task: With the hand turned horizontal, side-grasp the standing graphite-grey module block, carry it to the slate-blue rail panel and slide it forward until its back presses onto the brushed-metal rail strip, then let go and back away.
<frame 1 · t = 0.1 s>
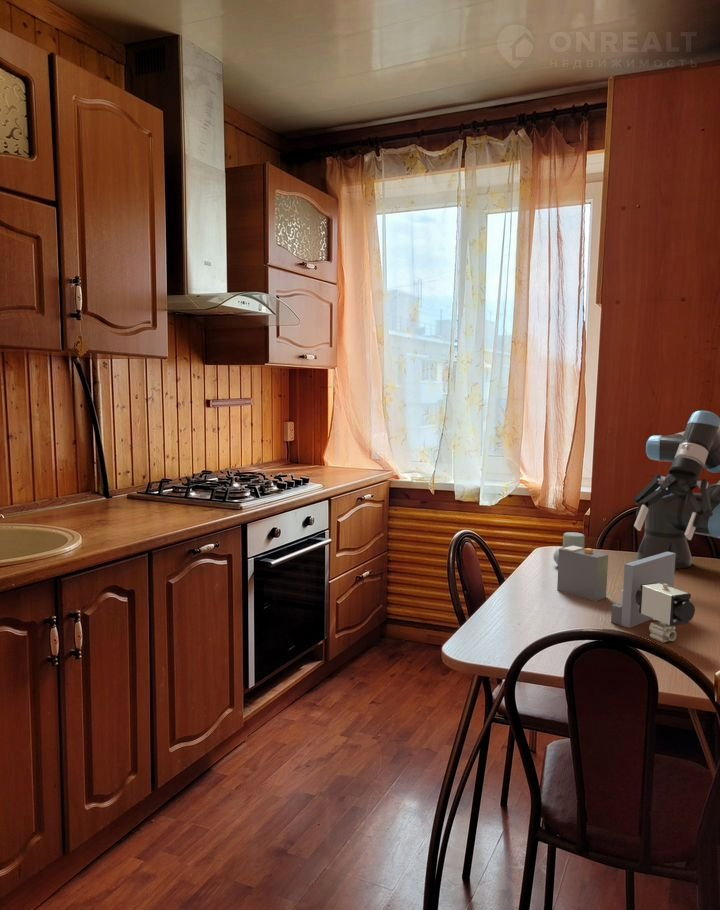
hand: (661, 532, 181), 15 cm above the table, tool tilted 35°, fingers open, 13 cm apart
air freshener: (572, 568, 204), on the table
pneumatic valve: (663, 640, 147), on the table
rail panel: (647, 617, 161), on the table
module: (581, 593, 179), on the table
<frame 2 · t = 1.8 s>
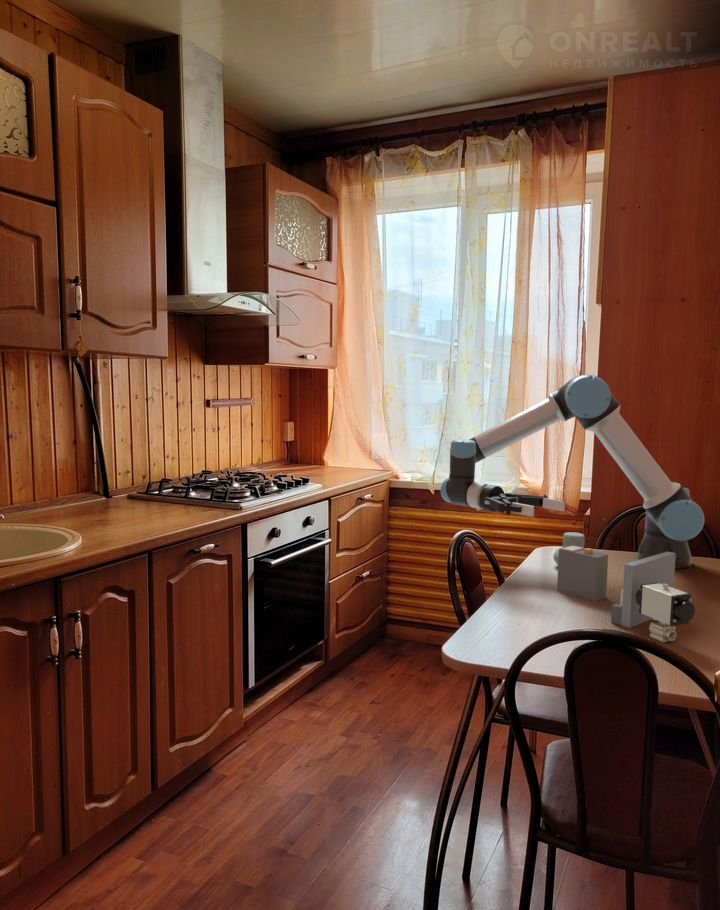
hand: (548, 508, 185), 20 cm above the table, tool horizontal, fingers open, 13 cm apart
nothing on the table moved.
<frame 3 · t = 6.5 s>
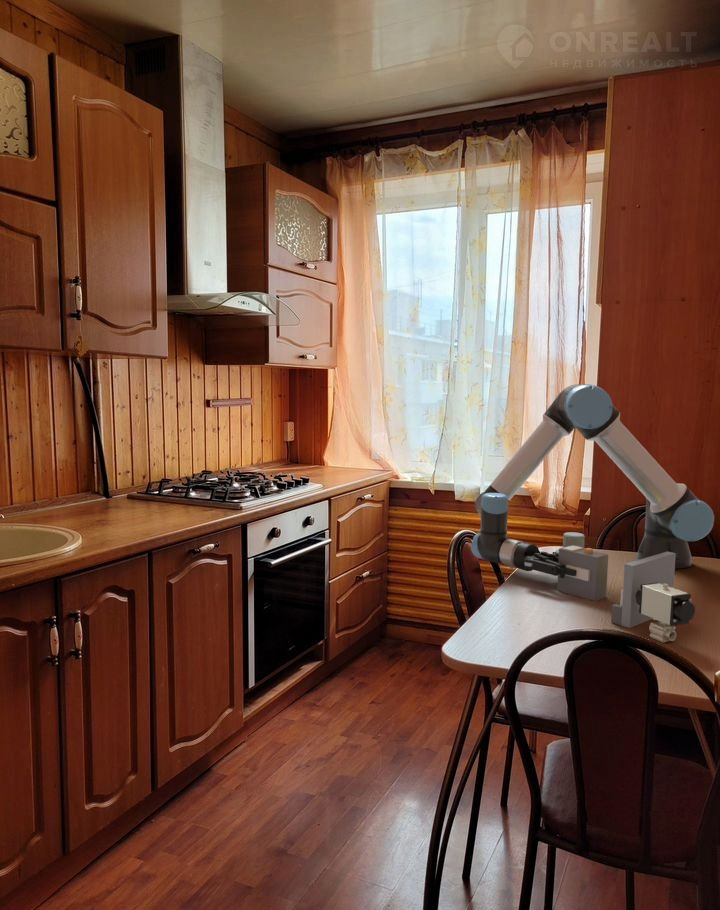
hand: (595, 573, 175), 6 cm above the table, tool horizontal, fingers closed on module, 5 cm apart
module: (581, 593, 179), on the table, touching gripper
everything else where it was.
when the fingers open (7 cm above the table, at t = 11.4 s): module stays where it is, on the table.
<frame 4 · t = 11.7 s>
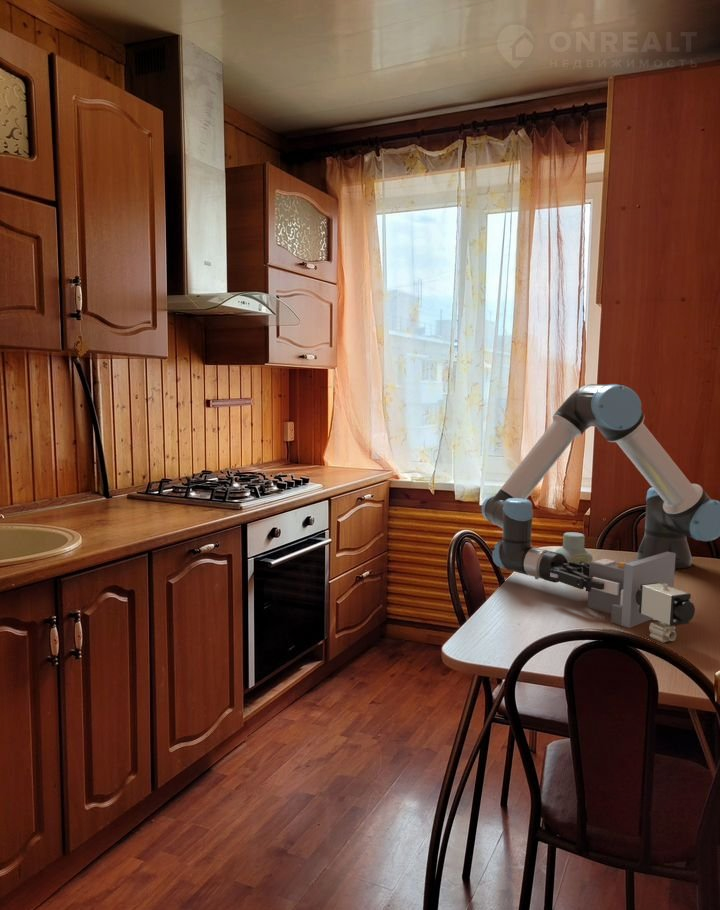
hand: (628, 585, 162), 7 cm above the table, tool horizontal, fingers open, 8 cm apart
module: (613, 610, 166), on the table
everything else where it was.
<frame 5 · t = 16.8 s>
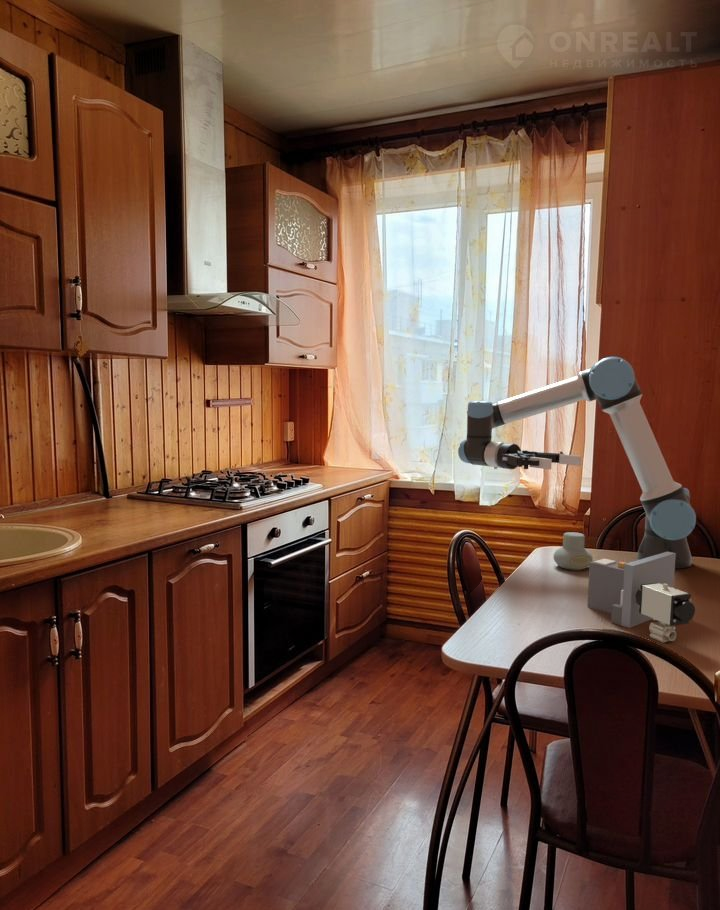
hand: (565, 462, 189), 32 cm above the table, tool horizontal, fingers open, 13 cm apart
at the end: module inside the target area (0.3 cm from its centre), on the table; module tilted 0°; the gripper is holding nothing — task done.
